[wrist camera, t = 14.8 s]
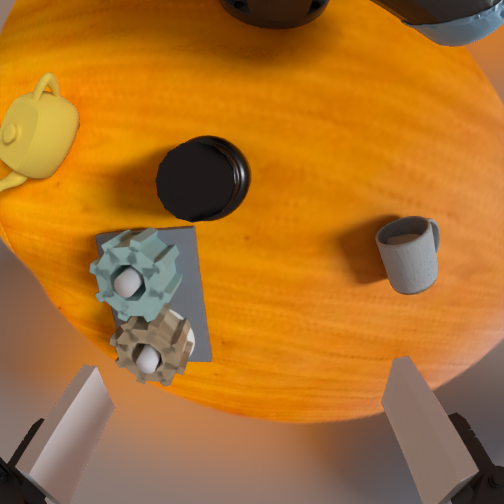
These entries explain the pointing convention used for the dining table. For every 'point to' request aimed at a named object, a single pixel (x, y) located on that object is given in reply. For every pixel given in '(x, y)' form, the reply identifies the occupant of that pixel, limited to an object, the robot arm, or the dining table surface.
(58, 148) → the teapot
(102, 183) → the dining table surface
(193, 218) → the ink bottle
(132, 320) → the birch gear
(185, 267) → the gear board
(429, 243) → the ceramic mug
